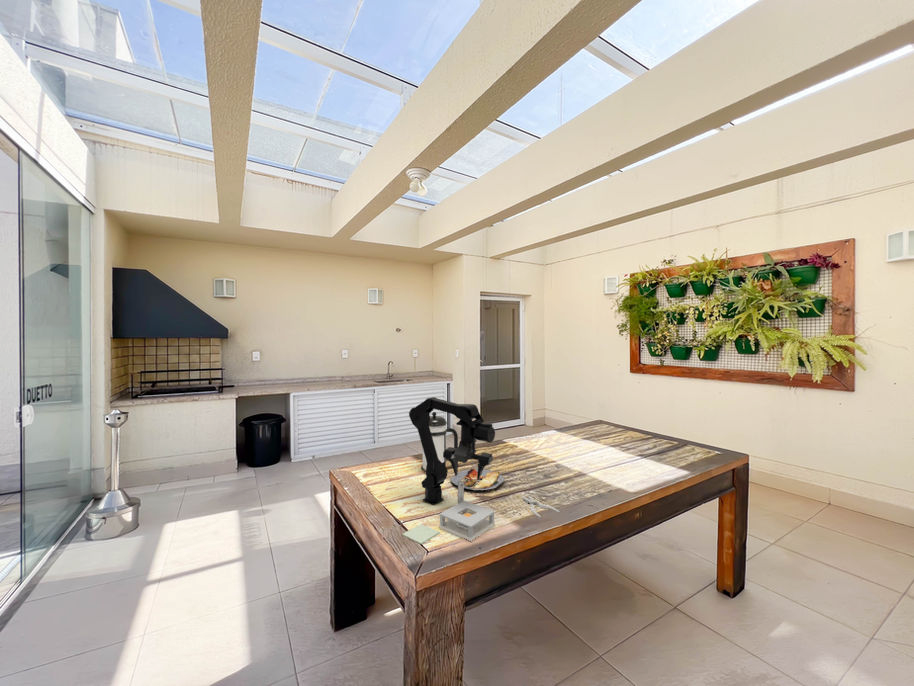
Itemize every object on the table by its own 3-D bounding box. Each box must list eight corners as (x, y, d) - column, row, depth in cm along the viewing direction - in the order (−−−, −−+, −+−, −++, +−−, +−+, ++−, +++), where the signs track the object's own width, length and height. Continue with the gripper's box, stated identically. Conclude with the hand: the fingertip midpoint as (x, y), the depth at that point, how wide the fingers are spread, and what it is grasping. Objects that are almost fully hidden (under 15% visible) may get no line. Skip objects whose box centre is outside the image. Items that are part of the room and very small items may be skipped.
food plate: (469, 469, 188) (469, 462, 188) (511, 478, 176) (511, 471, 176) (442, 487, 166) (442, 479, 166) (488, 499, 154) (488, 491, 154)
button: (461, 519, 129) (461, 515, 129) (466, 516, 132) (466, 512, 132) (467, 522, 128) (467, 518, 128) (472, 519, 130) (472, 515, 130)
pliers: (539, 514, 136) (516, 498, 150) (539, 518, 136) (516, 502, 150) (560, 509, 141) (535, 494, 154) (560, 513, 141) (535, 498, 154)
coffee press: (440, 478, 175) (440, 416, 175) (413, 472, 183) (413, 412, 183) (458, 468, 190) (458, 410, 190) (432, 463, 198) (432, 407, 198)
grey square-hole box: (439, 527, 129) (439, 513, 129) (464, 513, 139) (464, 500, 139) (471, 541, 120) (471, 526, 120) (494, 525, 131) (494, 511, 131)
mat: (402, 535, 124) (402, 533, 124) (421, 524, 131) (421, 523, 131) (421, 544, 118) (421, 543, 118) (439, 533, 125) (439, 532, 125)
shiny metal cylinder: (456, 508, 144) (456, 482, 144) (460, 505, 146) (460, 480, 146) (461, 509, 143) (461, 484, 143) (465, 507, 144) (465, 482, 144)
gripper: (437, 439, 138) (436, 480, 138) (484, 446, 130) (482, 490, 130) (449, 432, 148) (448, 470, 148) (493, 439, 140) (492, 479, 141)
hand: (467, 477), depth 142 cm, fingers open, 9 cm apart
